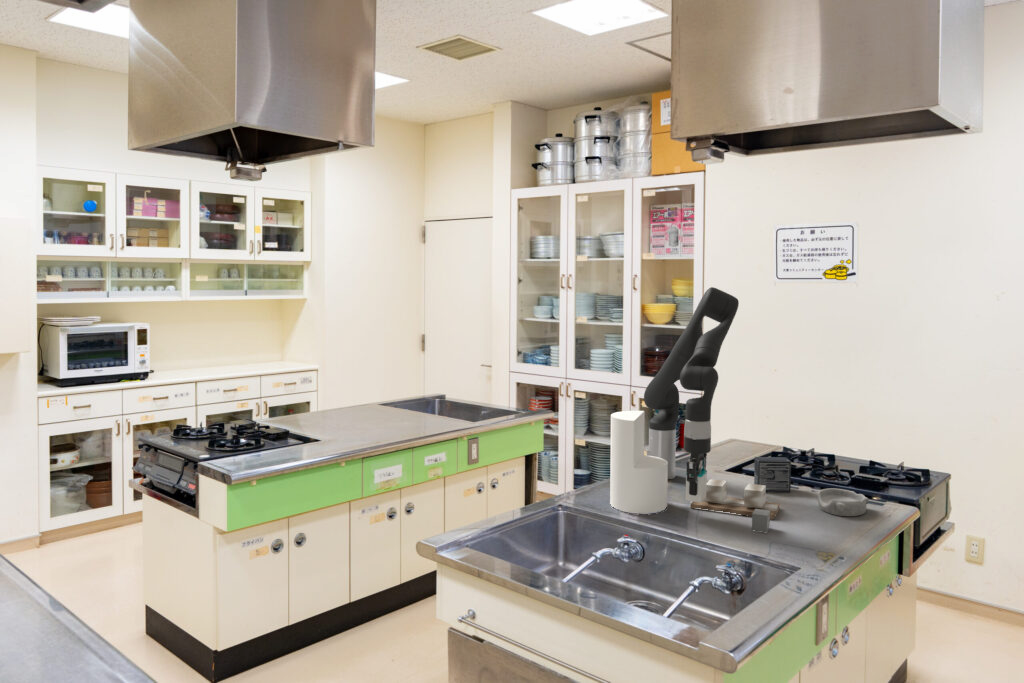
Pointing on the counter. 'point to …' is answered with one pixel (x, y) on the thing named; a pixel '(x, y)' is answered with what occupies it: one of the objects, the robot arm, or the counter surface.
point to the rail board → (736, 499)
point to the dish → (842, 502)
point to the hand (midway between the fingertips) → (696, 491)
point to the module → (698, 488)
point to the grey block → (760, 520)
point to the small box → (773, 473)
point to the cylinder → (635, 467)
